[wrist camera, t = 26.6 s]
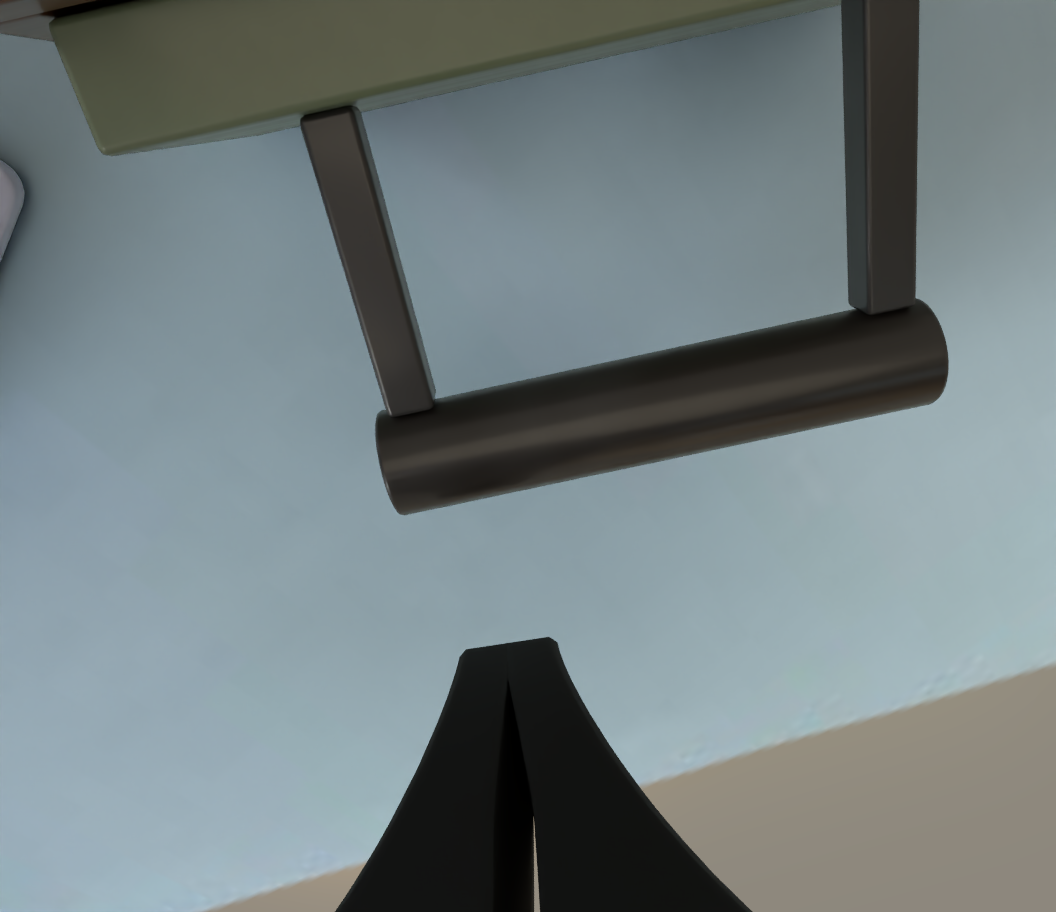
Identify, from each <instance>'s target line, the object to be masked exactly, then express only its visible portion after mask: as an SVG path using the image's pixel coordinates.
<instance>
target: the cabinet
mask: <svg viewBox="0 0 1056 912" xmlns="http://www.w3.org/2000/svg"><path fill="white" fill-rule="evenodd" d="M124 1H129V0H0V34H6V35H13V36H19V37H26V38H33V39H39V40H46V41H52V42H54V40H53V38H52V35H51V33H50V30H49V23H50V22H51V21H52V20H53V19H54V18H56V17H59V16H64V15H68V14H72V13H77V12H81V11H85V10H90V9H94V8H98V7H103V6H107V5H111V4H116V3H120V2H124Z"/></svg>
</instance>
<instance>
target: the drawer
mask: <svg viewBox="0 0 1056 912" xmlns="http://www.w3.org/2000/svg"><path fill="white" fill-rule="evenodd" d="M837 5H841V15H842V56H843V97H844V138H845V179H846V220H847V260H848V301H849V304H850V306H852V307H854V308H856V309H852V310H848V311H843V312H838V313H834V314H829V315H824V316H820V317H815V318H810V319H806V320H801V321H796V322H792V323H787V324H782V325H778V326H773V327H768V328H764V329H759V330H755V331H750V332H745V333H741V334H736V335H731V336H727V337H722V338H717V339H713V340H708V341H703V342H699V343H694V344H689V345H685V346H680V347H675V348H671V349H666V350H661V351H657V352H652V353H647V354H643V355H638V356H633V357H629V358H624V359H619V360H615V361H610V362H605V363H601V364H596V365H592V366H587V367H582V368H578V369H573V370H568V371H564V372H559V373H554V374H550V375H545V376H540V377H536V378H531V379H526V380H522V381H517V382H512V383H508V384H503V385H498V386H494V387H489V388H484V389H480V390H475V391H470V392H466V393H461V394H456V395H452V396H447V397H442V398H438V399H435V393H436V389H435V386H434V382H433V378H432V374H431V371H430V367H429V363H428V360H427V356H426V352H425V349H424V345H423V341H422V337H421V334H420V330H419V326H418V323H417V319H416V315H415V312H414V308H413V304H412V300H411V297H410V293H409V289H408V286H407V282H406V278H405V274H404V271H403V267H402V263H401V260H400V256H399V252H398V249H397V245H396V241H395V237H394V234H393V230H392V226H391V223H390V219H389V215H388V211H387V208H386V204H385V200H384V197H383V193H382V189H381V186H380V182H379V178H378V174H377V171H376V167H375V163H374V160H373V156H372V152H371V148H370V145H369V141H368V137H367V134H366V130H365V126H364V123H363V119H362V115H361V112H365V111H370V110H374V109H379V108H383V107H387V106H392V105H396V104H401V103H405V102H410V101H414V100H419V99H423V98H428V97H432V96H436V95H441V94H445V93H450V92H454V91H459V90H463V89H468V88H472V87H477V86H481V85H485V84H490V83H494V82H499V81H503V80H508V79H512V78H517V77H521V76H525V75H530V74H534V73H539V72H543V71H548V70H552V69H557V68H561V67H566V66H570V65H574V64H579V63H583V62H588V61H592V60H597V59H601V58H606V57H610V56H615V55H619V54H623V53H628V52H632V51H637V50H641V49H646V48H650V47H655V46H659V45H664V44H668V43H672V42H677V41H681V40H686V39H690V38H695V37H699V36H704V35H708V34H713V33H717V32H721V31H726V30H730V29H735V28H739V27H744V26H748V25H753V24H757V23H761V22H766V21H770V20H775V19H779V18H784V17H788V16H793V15H797V14H802V13H806V12H810V11H815V10H819V9H824V8H828V7H833V6H837ZM49 30H50V33H51V35H52V38H53V40H54V42H55V45H56V47H57V50H58V52H59V55H60V57H61V59H62V62H63V64H64V67H65V69H66V72H67V74H68V76H69V79H70V81H71V84H72V86H73V89H74V91H75V93H76V96H77V98H78V101H79V103H80V106H81V108H82V111H83V113H84V115H85V118H86V120H87V123H88V125H89V128H90V130H91V132H92V135H93V137H94V140H95V142H96V145H97V147H98V149H99V150H100V151H101V153H102V154H104V155H109V156H117V155H124V154H131V153H138V152H145V151H152V150H159V149H166V148H173V147H180V146H187V145H194V144H201V143H208V142H215V141H222V140H229V139H236V138H244V137H251V136H258V135H263V134H267V133H272V132H276V131H281V130H285V129H290V128H294V127H298V126H300V127H301V130H302V134H303V137H304V140H305V144H306V147H307V150H308V153H309V157H310V160H311V163H312V167H313V170H314V173H315V177H316V180H317V183H318V186H319V190H320V193H321V196H322V200H323V203H324V206H325V210H326V213H327V216H328V219H329V223H330V226H331V229H332V233H333V236H334V239H335V243H336V246H337V249H338V253H339V256H340V259H341V262H342V266H343V269H344V272H345V276H346V279H347V282H348V286H349V289H350V292H351V295H352V299H353V302H354V305H355V309H356V312H357V315H358V319H359V322H360V325H361V329H362V332H363V335H364V338H365V342H366V345H367V348H368V352H369V355H370V358H371V362H372V365H373V368H374V371H375V375H376V378H377V381H378V385H379V388H380V391H381V395H382V398H383V401H384V404H385V408H386V410H382V411H380V412H379V413H378V414H377V417H376V424H375V437H376V447H377V454H378V459H379V464H380V469H381V473H382V477H383V480H384V484H385V487H386V490H387V493H388V495H389V498H390V500H391V502H392V504H393V506H394V508H395V509H396V511H397V512H398V513H399V514H401V515H408V514H413V513H417V512H422V511H427V510H432V509H436V508H441V507H446V506H450V505H455V504H460V503H465V502H469V501H474V500H479V499H484V498H488V497H493V496H498V495H503V494H507V493H512V492H517V491H522V490H526V489H531V488H536V487H540V486H545V485H550V484H555V483H559V482H564V481H569V480H574V479H578V478H583V477H588V476H593V475H597V474H602V473H607V472H612V471H616V470H621V469H626V468H630V467H635V466H640V465H645V464H649V463H654V462H659V461H664V460H668V459H673V458H678V457H683V456H687V455H692V454H697V453H701V452H706V451H711V450H716V449H720V448H725V447H730V446H735V445H739V444H744V443H749V442H754V441H758V440H763V439H768V438H773V437H777V436H782V435H787V434H791V433H796V432H801V431H806V430H810V429H815V428H820V427H825V426H829V425H834V424H839V423H844V422H848V421H853V420H858V419H863V418H867V417H872V416H877V415H881V414H886V413H891V412H896V411H900V410H905V409H910V408H915V407H919V406H924V405H929V404H931V403H933V402H935V401H936V400H937V399H938V398H939V397H940V396H941V394H942V393H943V391H944V388H945V386H946V382H947V377H948V351H947V345H946V341H945V337H944V334H943V331H942V328H941V325H940V323H939V321H938V319H937V317H936V316H935V314H934V312H933V311H932V310H931V308H930V307H929V306H928V305H927V304H925V303H924V302H923V301H921V300H919V299H916V298H915V291H916V214H917V138H918V61H919V0H129V1H124V2H120V3H116V4H111V5H107V6H103V7H98V8H94V9H90V10H85V11H81V12H77V13H72V14H68V15H64V16H59V17H56V18H54V19H53V20H52V21H51V22H50V23H49Z"/></svg>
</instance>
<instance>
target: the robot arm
mask: <svg viewBox="0 0 1056 912" xmlns="http://www.w3.org/2000/svg"><path fill="white" fill-rule="evenodd" d="M24 196H25V192H24V188H23V184H22V181H21V180H20V178H19V177H18V175H17V174H16V172H15V171H14V170H13V169H12V168H11V167H9V166H8V165H7V164H6V163H4V162H3V161H1V160H0V262H1V259H2V257H3V254H4V252H5V249H6V247H7V244H8V242H9V239H10V237H11V234H12V231H13V229H14V226H15V224H16V221H17V219H18V216H19V214H20V211H21V209H22V206H23V203H24ZM533 816H534V823H535V838H536V853H537V866H538V882H539V899H540V912H752V911H751V910H750V909H749V908H748V907H747V906H746V905H745V904H744V903H743V902H742V901H741V900H740V899H739V898H738V897H737V896H736V895H735V894H734V893H733V892H732V891H731V890H730V889H729V888H727V887H726V886H725V885H724V884H723V883H722V882H721V881H720V880H719V879H718V878H717V877H716V876H715V875H714V874H713V873H712V872H711V870H709V868H708V867H707V866H706V865H705V864H704V863H703V862H702V861H701V860H700V858H699V857H698V856H697V855H696V854H695V853H694V852H693V851H692V850H691V849H690V848H689V846H688V845H687V844H686V843H685V842H684V841H683V840H682V839H681V837H680V836H679V835H678V834H677V833H676V831H675V830H674V829H673V828H672V827H671V826H670V824H669V823H668V822H667V821H666V820H665V819H664V817H663V816H662V815H661V814H660V813H659V811H658V810H657V809H656V808H655V806H654V805H653V804H652V803H651V802H650V800H649V799H648V798H647V796H646V795H645V794H644V792H643V791H642V790H641V788H640V787H639V786H638V784H637V783H636V782H635V780H634V779H633V778H632V776H631V775H630V773H629V772H628V771H627V769H626V768H625V767H624V765H623V764H622V763H621V761H620V760H619V758H618V757H617V755H616V754H615V752H614V751H613V749H612V748H611V746H610V745H609V743H608V742H607V740H606V739H605V737H604V736H603V734H602V732H601V731H600V729H599V728H598V726H597V724H596V723H595V721H594V720H593V718H592V716H591V715H590V713H589V712H588V710H587V708H586V706H585V705H584V703H583V701H582V699H581V697H580V696H579V694H578V692H577V690H576V688H575V686H574V684H573V682H572V680H571V678H570V676H569V674H568V672H567V669H566V667H565V665H564V662H563V660H562V657H561V654H560V651H559V648H558V643H557V642H556V641H554V640H553V639H551V638H550V637H545V638H539V639H532V640H526V641H519V642H512V643H506V644H499V645H493V646H486V647H479V648H473V649H466V650H465V651H464V653H463V654H462V655H461V656H460V658H459V662H458V666H457V669H456V673H455V676H454V679H453V682H452V685H451V688H450V691H449V694H448V697H447V700H446V702H445V705H444V707H443V710H442V713H441V715H440V718H439V720H438V723H437V725H436V727H435V730H434V732H433V734H432V737H431V739H430V741H429V744H428V746H427V748H426V750H425V753H424V755H423V757H422V760H421V762H420V764H419V766H418V768H417V770H416V773H415V775H414V777H413V778H412V780H411V782H410V784H409V786H408V788H407V790H406V792H405V794H404V796H403V798H402V800H401V802H400V804H399V806H398V808H397V810H396V812H395V814H394V816H393V818H392V820H391V821H390V823H389V825H388V827H387V829H386V830H385V832H384V834H383V836H382V837H381V839H380V841H379V843H378V845H377V846H376V848H375V850H374V851H373V853H372V855H371V856H370V858H369V860H368V861H367V863H366V865H365V866H364V868H363V869H362V871H361V873H360V874H359V876H358V878H357V879H356V881H355V883H354V884H353V886H352V887H351V889H350V890H349V892H348V893H347V895H346V897H345V898H344V899H343V901H342V902H341V904H340V905H339V907H338V908H337V910H336V911H335V912H534V826H533Z"/></svg>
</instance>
